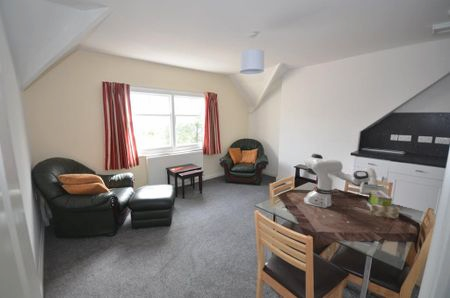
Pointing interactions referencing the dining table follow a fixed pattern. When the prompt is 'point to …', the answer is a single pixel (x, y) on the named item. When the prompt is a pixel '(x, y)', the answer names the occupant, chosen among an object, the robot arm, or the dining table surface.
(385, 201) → the tea box
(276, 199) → the dining table surface
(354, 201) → the dining table surface
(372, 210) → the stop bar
